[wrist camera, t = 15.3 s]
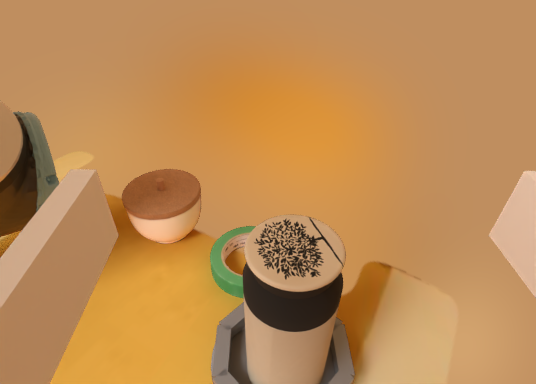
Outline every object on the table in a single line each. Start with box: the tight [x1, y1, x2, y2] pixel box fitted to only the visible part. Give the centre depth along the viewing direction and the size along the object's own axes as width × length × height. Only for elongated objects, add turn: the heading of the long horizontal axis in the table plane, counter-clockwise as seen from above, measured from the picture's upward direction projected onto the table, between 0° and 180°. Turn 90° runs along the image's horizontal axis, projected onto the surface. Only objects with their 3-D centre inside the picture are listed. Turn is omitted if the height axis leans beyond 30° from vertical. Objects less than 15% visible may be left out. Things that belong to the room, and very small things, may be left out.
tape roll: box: [210, 226, 256, 298], centre depth 47 cm, size 11×11×3 cm
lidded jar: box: [122, 169, 201, 244], centre depth 51 cm, size 11×11×9 cm
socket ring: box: [211, 302, 355, 384], centre depth 37 cm, size 15×15×2 cm
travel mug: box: [243, 215, 346, 384], centre depth 31 cm, size 8×8×18 cm
